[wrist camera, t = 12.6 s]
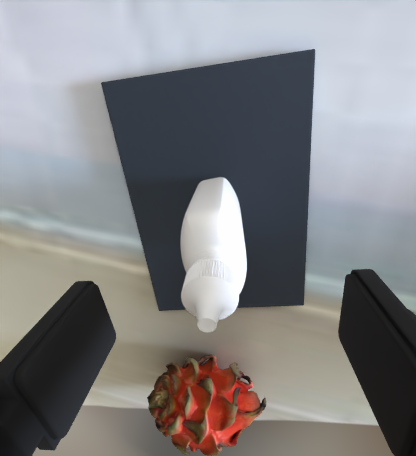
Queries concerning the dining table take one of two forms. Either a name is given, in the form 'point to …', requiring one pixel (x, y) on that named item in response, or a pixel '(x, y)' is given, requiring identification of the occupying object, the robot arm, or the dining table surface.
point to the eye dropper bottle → (213, 253)
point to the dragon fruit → (203, 405)
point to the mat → (221, 164)
